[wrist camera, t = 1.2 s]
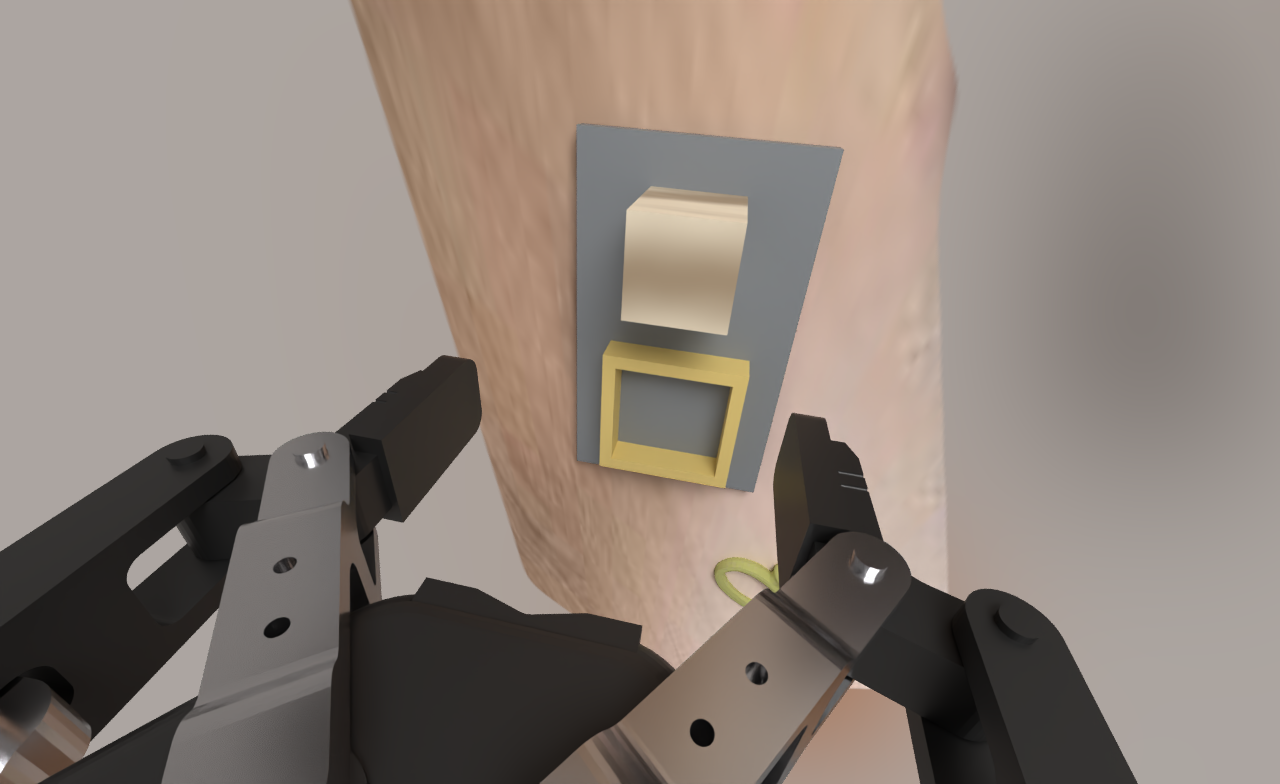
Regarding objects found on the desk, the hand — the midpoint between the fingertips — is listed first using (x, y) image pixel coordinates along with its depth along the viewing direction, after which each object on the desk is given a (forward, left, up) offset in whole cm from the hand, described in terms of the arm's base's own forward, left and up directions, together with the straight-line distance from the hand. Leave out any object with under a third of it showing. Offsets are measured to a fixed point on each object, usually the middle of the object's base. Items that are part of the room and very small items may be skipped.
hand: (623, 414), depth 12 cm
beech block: (0, 0, -17) cm, 17 cm away
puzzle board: (+6, 0, -18) cm, 19 cm away
